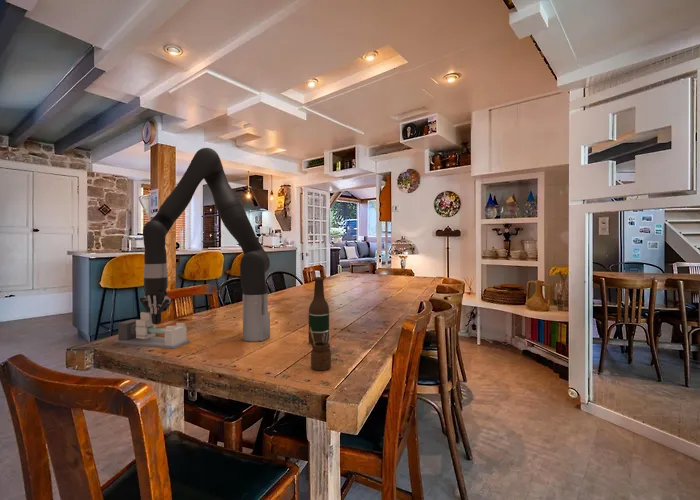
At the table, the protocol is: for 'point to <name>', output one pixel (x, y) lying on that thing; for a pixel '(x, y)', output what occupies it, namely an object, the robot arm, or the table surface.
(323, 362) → the utensil holder
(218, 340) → the table surface
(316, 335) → the beer bottle
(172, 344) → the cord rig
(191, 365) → the table surface
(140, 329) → the cream stepped block
